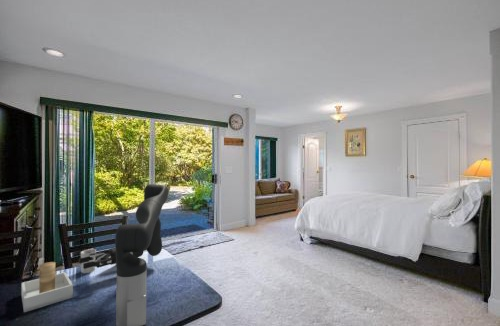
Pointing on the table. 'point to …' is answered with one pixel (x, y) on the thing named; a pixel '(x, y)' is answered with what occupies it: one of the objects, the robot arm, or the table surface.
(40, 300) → the tote
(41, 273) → the wooden cylinder
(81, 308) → the table surface
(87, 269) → the drinking glass
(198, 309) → the table surface
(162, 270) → the table surface
